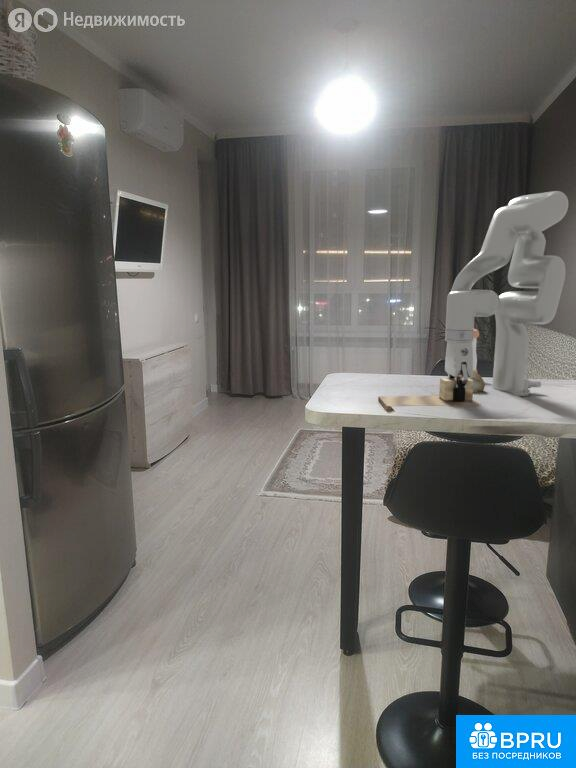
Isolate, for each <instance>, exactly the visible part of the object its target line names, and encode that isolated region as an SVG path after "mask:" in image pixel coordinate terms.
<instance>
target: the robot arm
mask: <svg viewBox="0 0 576 768" xmlns="http://www.w3.org/2000/svg"><path fill="white" fill-rule="evenodd" d="M568 209H569V199H568V196H567V195H566V194H565V193H564V192H563V191H560V190H553V191H547V192H545V191H544V192H539V193H532V194H526V195H525V194H523V195H520V196H517V197H515V198H512V199H511V200H510V201H509V202H508V204H507V205H505V206H501V207H499V208H498V209H497V210H495V212H494V213H493V216H492V218H491V220H490V223H489V226H488V229H487V232H486V235H485V238H484V240H483V244H482V246H481V249H480V251H479V253H478V255H476V256H475V257H473V258H472V260H470V261H469V262H468V263H467V264H466V265H465V266H464V267H463V268H462V270H460V272H459V273H458V274H457V276H456V277H455V279H454V282H453V284H452V287H451V289H450V292H449V293H448V294H447V297H446V314H445V329H444V330H445V331H444V341H445V342H446V348H445V357H444V358H445V359H444V371H445V372H446V374H447V378H455V388H454V389H453V401H454V402H464V401H465V388H466V383H467V381H468V377H471V376H472V373H473V349H472V342H473V334H474V329H475V317H481V318H483V317H484V318H487V317H491V316H494V317H495V342H494V344H495V346H494V357H493V358H494V359H493V360H494V361H493V371H492V386H491V387H492V389H494V390H495V391H501V392H509V393H511V394H513V395H515V396H517V397H527V396H529V395H530V394H531V390H530V389H531V388H541V387H542V381H540V380H539V381H538V380H535V381H533V380H529V379H527V369H528V358H529V357H528V356H529V348H530V347H529V345H530V344H529V343H530V336H529V331H528V330H527V328H526V326H525V325H527V324H528V325H529V324H530V325H546V324H549V323H550V322H552V321H553V320H554V318H555V316H556V313H557V310H558V306H559V302H560V298H561V295H562V291H563V288H564V283H565V279H566V264H565V262H564V260H563V258H561V257H560V256H558V255H549V254H548V255H544V253H545V249H546V243H547V240H546V237H545V235H544V233H543V232H544V231H546V230H547V229H549V228H550V227H552V226H554V225H556V224H557V223H559V222H560V221H562V219H563V218H564V217H566V214H567V212H568ZM509 262H510V265H509V267H508V272H507V282H508V284H509V285H510V286H511V287H513V288H518V289H538V291H529V290H528V291H526V290H524V291H523V290H517V291H515V290H514V291H513V290H512V291H511V290H510V291H505V292H503V293H501V294H500V295H498V293H497V292H496V291H493V290H491V289H472V288H473V286H474V285H475V284H476V282H477V281H479V280H480V279H482V278H483V277H484V276H486V275H488V274H490V273H492V272H494V271H497V270H499V269H501V268H503V267H504V266H506V265H508V264H509ZM459 375H462V377H459ZM458 379H461V380H459V382H458Z"/></svg>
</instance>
